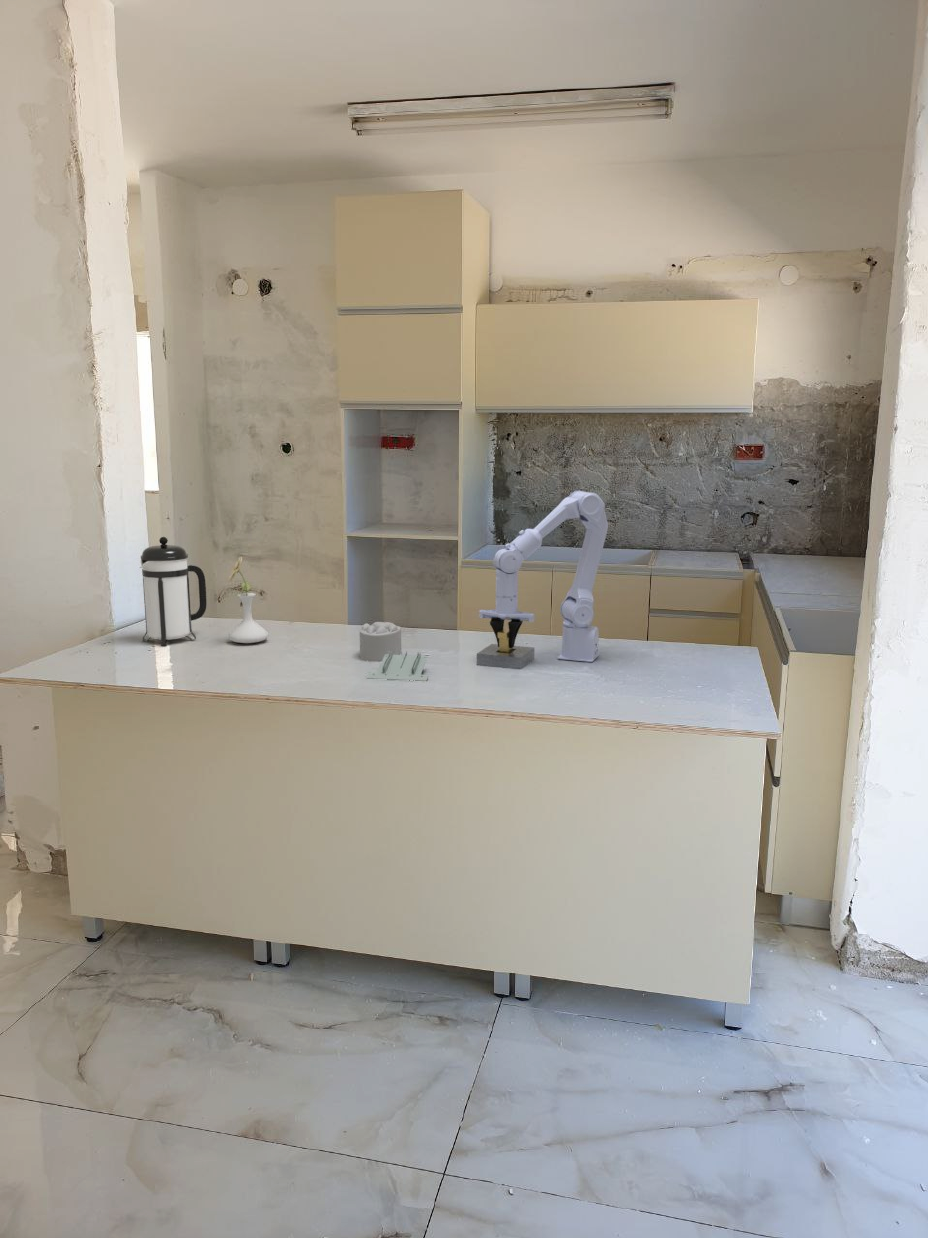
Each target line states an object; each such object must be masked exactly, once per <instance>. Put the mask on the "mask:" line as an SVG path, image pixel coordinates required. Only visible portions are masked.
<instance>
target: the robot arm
mask: <svg viewBox="0 0 928 1238" xmlns="http://www.w3.org/2000/svg"><path fill="white" fill-rule="evenodd" d="M605 506H606V504H605V501H603V500H602V498H601V497H600V495H598V494H597V493H596V492H587V491H584V490H583V491H582V490H575V491H573V492H572V493H570V494H569V496H566V497H564V499H562V500H561V501H560V503H559V504H558V505H556V507H555V508H553V510H552V511H551V512H550V513H549V514H548V515H547V516H545V518H543V519H542V520H541V521H540V522H539V523H538V524H537V525H536V526H535V527H534V528H526V529H525V530H524V529H522V530H520V531H519V532H518V534H519V535H518V536H517V537H515V538H514V539H513V540H512V541H511V542H510V543H506V544H505V548H501V549H499V550H498V551H497V552H496V553H495V555H494V558H492V564H493V565H494V567H495V568H496V569H495V609H480V610H478V619H490V621H489V624H490V626H491V629H492V631H493V632H494V636H495V639H496V644H498V647H499V638H498V632H499V631H500V630H502V629H503V628H505V627H504V626H505V621H508V620H509V622H508V623H507V627H509V648H513V647H514V646H515V642H516V639H517V636H518V633H519V630H520V629H521V627H522V625H523V622H529V623H533V622H534V621H535V613H532V612H525V611H519V610H518V605H519V604H518V603H519V602H518V601H519V599H518V598H519V597H518V595H519V594H518V592H519V591H518V589H519V588H518V587H519V575H518V574H519V573H518V571H519V570H520V569H521V568H522V565H523V564H522V563H523V562H524V561H526V559H528V558H529V557H530V556H531V555H532V554H534V552H536V551H537V550H538V549H539V548H540V547H541V546H542V544H543V538H544V537H546V536H547V535H548V534H549V533H551V532H552V531H554V530H555V529H556V528H557V527H558V526H560V525H561V524H562V523H563V522H566V520H571V519H572V520H573V519H579V520H580V521H581V523H582V525H583V526H584V528H585V530H586V531H585V535H584V539H583V543H582V545H581V546H582V547H581V550H580V551H581V552H580V554H579V559H578V561H577V562H578V564H577V568H576V571H575V575H574V578H573V582H572V586H571V588H570V589H569V590H568V591H567V594H566V596H565V598H564V600H562V602H561V604H560V607H559V613H560V616H561V617H562V618H563V622H562V636H561V637H562V641H561V647H562V648H561V654H559V655H558V656H557V660H565V661H577V662H587V663H593V662H594V661H595V660H596V659H597V658H598V657H599V641H600V635H599V634H600V633H599V632H600V631H599V627H597V626H593V625H591V623H592V622H593V620H594V616H595V612H594V602H595V600H594V596H593V588H594V585H595V582H596V581H595V580H596V576H597V573H598V569H599V564H600V562H601V558H602V554H603V553H602V552H603V549H604V546H605V541H606V537H607V533H608V529H609V522H608V519H607V514H606V510H605V508H606V507H605Z"/></svg>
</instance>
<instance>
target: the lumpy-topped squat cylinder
mask: <svg viewBox="0 0 928 1238" xmlns="http://www.w3.org/2000/svg"><path fill="white" fill-rule="evenodd" d="M389 651H390V652H391V651H392V654H393V655H400V654H401V655H402V627H401V626H399V625H396V624H394V623H393V622H389V621H385V622H384V621H375V622H373V623H372V624H371V625H370V624H369V623H364V624H362V625H361V629H360V630H359V656H360V659H362V658H363V659H364V661H367V660H368V662H382V660H383V658H384V655H385V654H389ZM386 657H387V656H386ZM363 659H362V660H363Z"/></svg>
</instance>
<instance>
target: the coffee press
mask: <svg viewBox="0 0 928 1238" xmlns="http://www.w3.org/2000/svg"><path fill="white" fill-rule="evenodd" d="M158 541H159V543H160V545H153V546H149V547H147V548H145V549H143V551H142V554H141V555H140V561H139V565H138V566H139V569H141V573H142V575H141V576H142V585H143V586H142V587H143V598H144V599H143V600H144V613H145V634H144V635H143V637H142V641H143V642H146V643H147V642H148V641H149V640H150V639H155V640H160V646H161V647H167V643H168V641H170V640H176V639H177V640H178V639H182V638H187V639H188V640H190V641H191V642H194V641H195V640H196V639H197V635H196V634H195V633H194V632H193V630H192V629H193V628H192V621H195V620H198V619H200V618H202V617H203V616H204V615H205V612H206V609H207V586H206V577H205V573H204V572H203V570H202V569H201V568H200V567H198V566H197V565H192V564H190V565H188V558H189V554H188V553H187V551H186V550H185V548H183V547H182V546H179V545H173V544H172V545H171V544H167V543H168V541H169V540H168V538H167V537H165V536H162V537H160V538H159V540H158ZM189 572H191V573H192V572H193V573H195V574H196V576H197V579H198V597H199V608H198V610H197V611H196V612H195V613H193V614H191V613H192V612H191V600H190V599H191V598H190V596H191V594H190V582H189V581H190V580H189ZM190 633H191V635H192V637H194V639H192V638H191V637H190V636H189V635H190ZM145 636H148V637H149V638H148V639H146V638H145Z"/></svg>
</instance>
